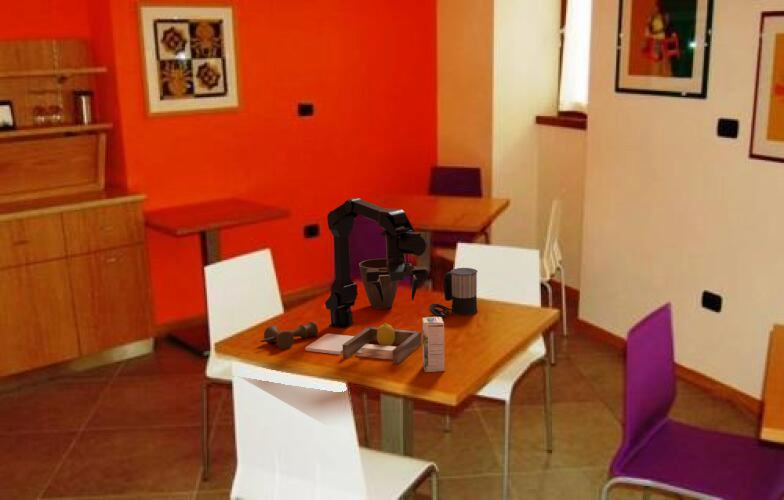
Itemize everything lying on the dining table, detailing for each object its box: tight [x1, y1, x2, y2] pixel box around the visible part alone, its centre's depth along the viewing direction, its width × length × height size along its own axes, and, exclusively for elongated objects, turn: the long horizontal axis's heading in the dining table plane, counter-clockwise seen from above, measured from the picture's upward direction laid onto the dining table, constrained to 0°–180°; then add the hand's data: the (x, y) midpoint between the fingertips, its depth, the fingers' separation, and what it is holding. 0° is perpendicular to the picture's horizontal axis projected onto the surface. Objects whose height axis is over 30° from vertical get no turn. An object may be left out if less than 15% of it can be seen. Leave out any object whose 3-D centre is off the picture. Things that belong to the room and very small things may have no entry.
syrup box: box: [421, 316, 446, 373], centre depth 228 cm, size 6×6×14 cm
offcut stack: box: [355, 343, 398, 360], centre depth 242 cm, size 12×4×3 cm, turn 68°
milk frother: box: [429, 267, 479, 318], centre depth 278 cm, size 14×16×15 cm
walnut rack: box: [342, 326, 423, 365], centre depth 245 cm, size 18×18×4 cm
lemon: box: [377, 322, 395, 346], centre depth 247 cm, size 6×6×8 cm
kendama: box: [260, 321, 319, 351], centre depth 257 cm, size 6×10×20 cm
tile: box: [304, 333, 355, 355], centre depth 253 cm, size 12×14×1 cm
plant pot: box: [358, 258, 400, 310], centre depth 290 cm, size 15×15×16 cm
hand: (397, 300), depth 250 cm, fingers open, 9 cm apart
